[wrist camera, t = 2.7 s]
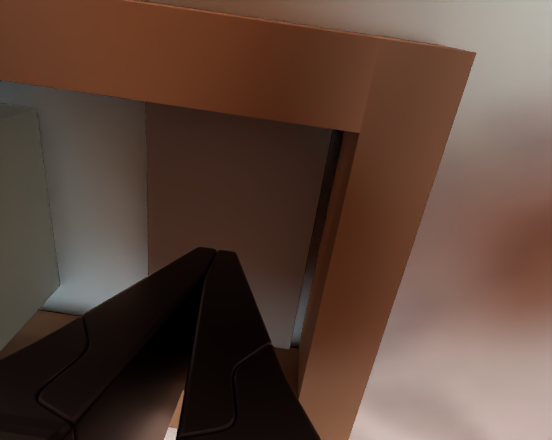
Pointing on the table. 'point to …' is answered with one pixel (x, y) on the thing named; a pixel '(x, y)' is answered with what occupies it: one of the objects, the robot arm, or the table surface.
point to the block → (23, 222)
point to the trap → (236, 198)
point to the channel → (287, 108)
